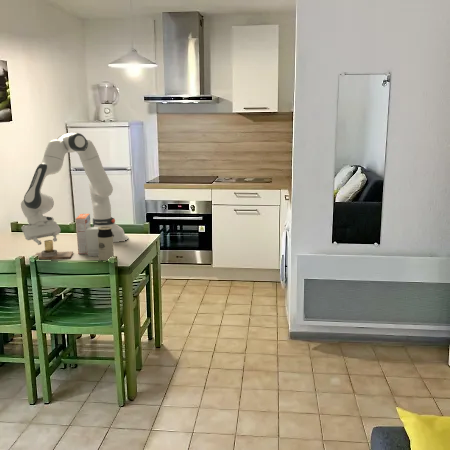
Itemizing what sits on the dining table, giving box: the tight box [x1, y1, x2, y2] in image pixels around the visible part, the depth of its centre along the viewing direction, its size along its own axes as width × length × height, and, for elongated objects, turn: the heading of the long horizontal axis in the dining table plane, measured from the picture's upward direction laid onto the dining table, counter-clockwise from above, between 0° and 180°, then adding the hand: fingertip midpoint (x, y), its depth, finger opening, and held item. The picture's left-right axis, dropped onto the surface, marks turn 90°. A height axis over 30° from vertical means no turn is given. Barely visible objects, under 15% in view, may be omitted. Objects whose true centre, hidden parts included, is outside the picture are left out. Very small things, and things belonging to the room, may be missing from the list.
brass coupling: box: [43, 239, 54, 253], centre depth 287 cm, size 4×4×8 cm
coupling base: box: [34, 249, 74, 260], centre depth 288 cm, size 20×11×3 cm, turn 98°
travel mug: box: [98, 226, 115, 261], centre depth 281 cm, size 8×8×18 cm
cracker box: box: [75, 213, 92, 255], centre depth 299 cm, size 14×6×21 cm, turn 4°
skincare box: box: [86, 226, 99, 257], centre depth 291 cm, size 8×7×16 cm
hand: (47, 242), depth 288 cm, fingers open, 8 cm apart
